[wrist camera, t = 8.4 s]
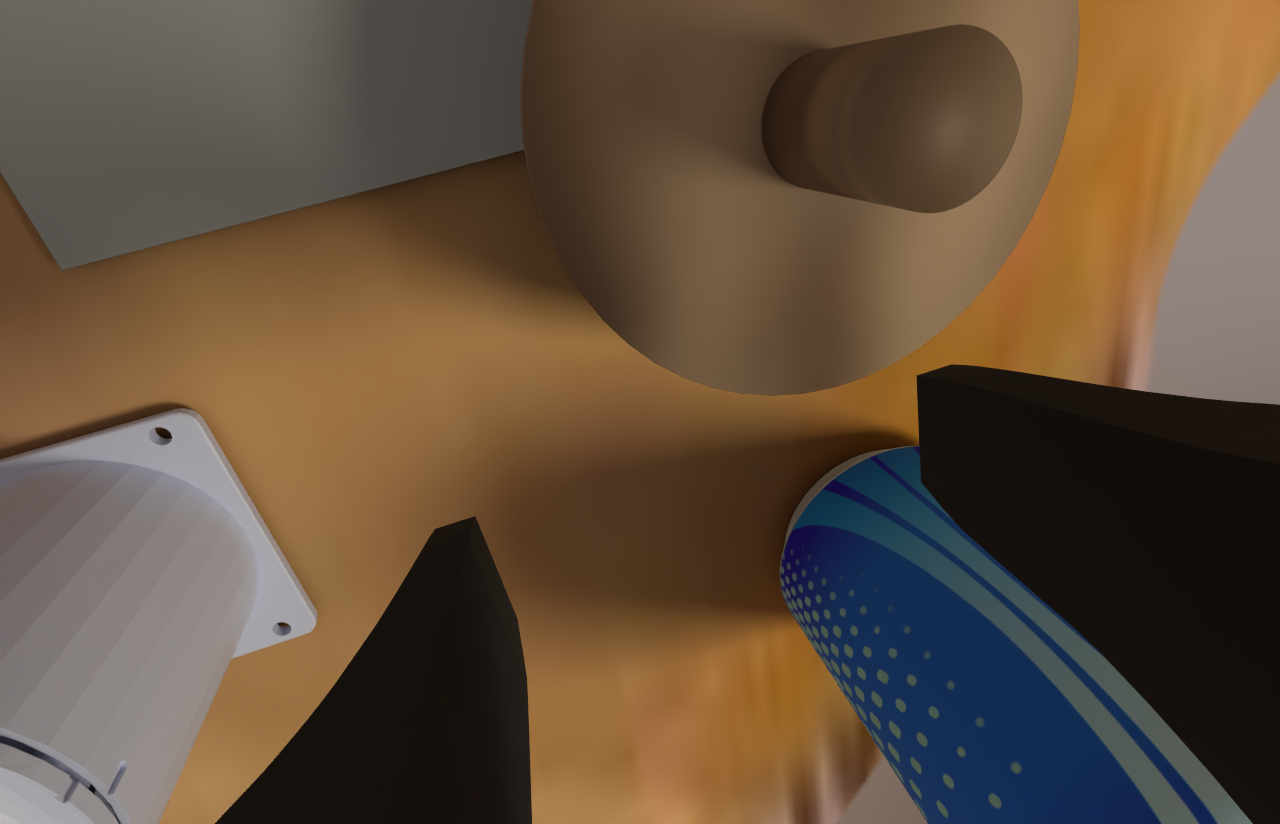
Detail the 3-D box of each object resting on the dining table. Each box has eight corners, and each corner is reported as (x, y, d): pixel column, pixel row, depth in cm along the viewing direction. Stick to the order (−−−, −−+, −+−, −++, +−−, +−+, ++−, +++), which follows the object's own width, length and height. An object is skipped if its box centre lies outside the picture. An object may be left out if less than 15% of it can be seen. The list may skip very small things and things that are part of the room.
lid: (627, 453, 16) (683, 570, 12) (411, -134, 11) (374, -292, 7) (1053, 285, 17) (1243, 339, 13) (1044, -332, 12) (1360, -579, 8)
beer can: (742, 481, 23) (1178, 1062, 9) (958, 395, 24) (1682, 807, 10) (788, 647, 27) (1145, 1241, 13) (973, 569, 28) (1509, 1049, 13)
